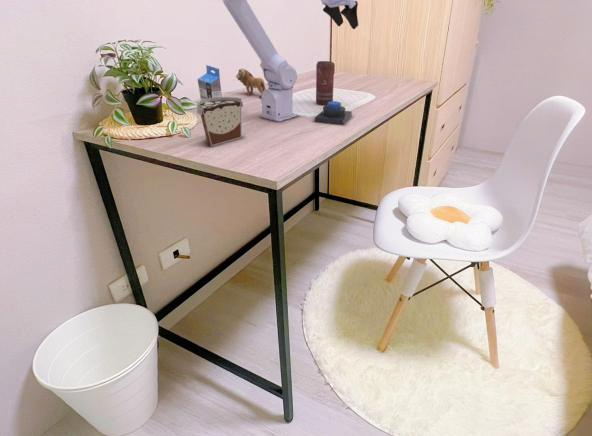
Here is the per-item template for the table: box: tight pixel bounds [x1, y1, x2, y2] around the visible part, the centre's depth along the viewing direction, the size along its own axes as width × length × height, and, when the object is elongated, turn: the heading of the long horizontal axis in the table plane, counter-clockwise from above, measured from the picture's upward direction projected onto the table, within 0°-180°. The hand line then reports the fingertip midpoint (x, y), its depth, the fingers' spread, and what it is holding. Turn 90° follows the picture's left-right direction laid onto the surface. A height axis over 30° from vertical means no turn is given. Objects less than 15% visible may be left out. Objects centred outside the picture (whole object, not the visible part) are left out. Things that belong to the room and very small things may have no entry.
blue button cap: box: [328, 100, 342, 110], centre depth 114 cm, size 4×4×2 cm
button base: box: [314, 105, 353, 126], centre depth 116 cm, size 11×9×4 cm
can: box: [315, 60, 336, 106], centre depth 130 cm, size 6×6×14 cm
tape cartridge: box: [197, 64, 223, 101], centre depth 121 cm, size 9×4×12 cm, turn 44°
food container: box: [196, 96, 244, 147], centre depth 94 cm, size 12×6×10 cm, turn 141°
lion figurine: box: [235, 68, 267, 96], centre depth 138 cm, size 15×5×9 cm, turn 62°
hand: (348, 25), depth 119 cm, fingers open, 7 cm apart
